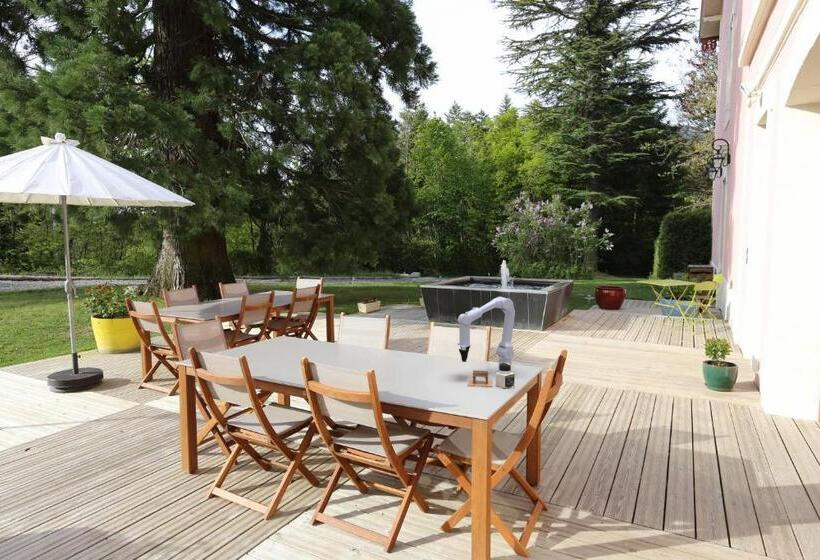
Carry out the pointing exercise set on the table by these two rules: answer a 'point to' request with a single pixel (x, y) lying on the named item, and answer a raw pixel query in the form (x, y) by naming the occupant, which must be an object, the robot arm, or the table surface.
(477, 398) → the table surface
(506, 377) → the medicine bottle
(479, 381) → the terracotta tile
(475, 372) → the brown slotted block
